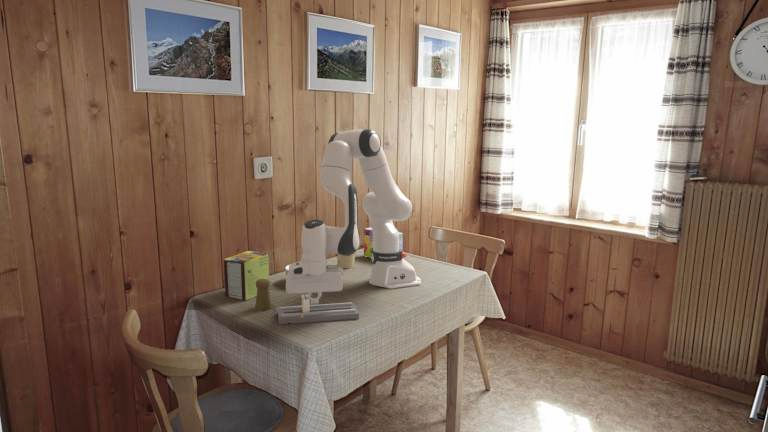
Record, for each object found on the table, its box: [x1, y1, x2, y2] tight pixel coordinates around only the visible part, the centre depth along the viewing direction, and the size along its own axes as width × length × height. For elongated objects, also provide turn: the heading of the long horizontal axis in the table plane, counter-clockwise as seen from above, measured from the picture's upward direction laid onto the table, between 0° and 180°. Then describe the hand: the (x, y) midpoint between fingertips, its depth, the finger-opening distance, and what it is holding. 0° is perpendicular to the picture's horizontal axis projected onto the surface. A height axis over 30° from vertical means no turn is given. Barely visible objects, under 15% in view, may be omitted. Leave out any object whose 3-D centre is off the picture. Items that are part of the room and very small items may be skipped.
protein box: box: [223, 250, 270, 301], centre depth 216 cm, size 10×15×16 cm
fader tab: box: [301, 293, 311, 313], centre depth 192 cm, size 2×5×5 cm, turn 13°
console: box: [277, 301, 360, 325], centre depth 194 cm, size 28×11×3 cm, turn 103°
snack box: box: [363, 226, 404, 257], centre depth 269 cm, size 21×6×15 cm, turn 52°
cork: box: [254, 279, 273, 312], centre depth 200 cm, size 6×6×11 cm
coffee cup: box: [336, 252, 356, 269], centre depth 256 cm, size 9×9×12 cm
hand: (314, 303), depth 193 cm, fingers closed
